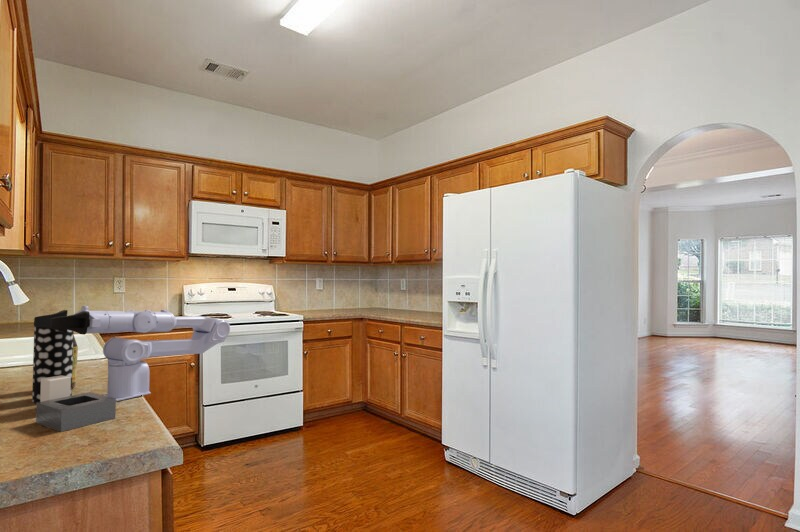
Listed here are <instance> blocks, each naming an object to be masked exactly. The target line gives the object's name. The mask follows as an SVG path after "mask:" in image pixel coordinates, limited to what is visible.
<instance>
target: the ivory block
mask: <svg viewBox="0 0 800 532" xmlns="http://www.w3.org/2000/svg"><path fill="white" fill-rule="evenodd" d="M70 393H71V377H67V376H63V375H61V376H54V377H48V378H42V379H41V392H40V402H42V401H47V400H53V399H58V398H63V397H68V396H70Z"/></svg>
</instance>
